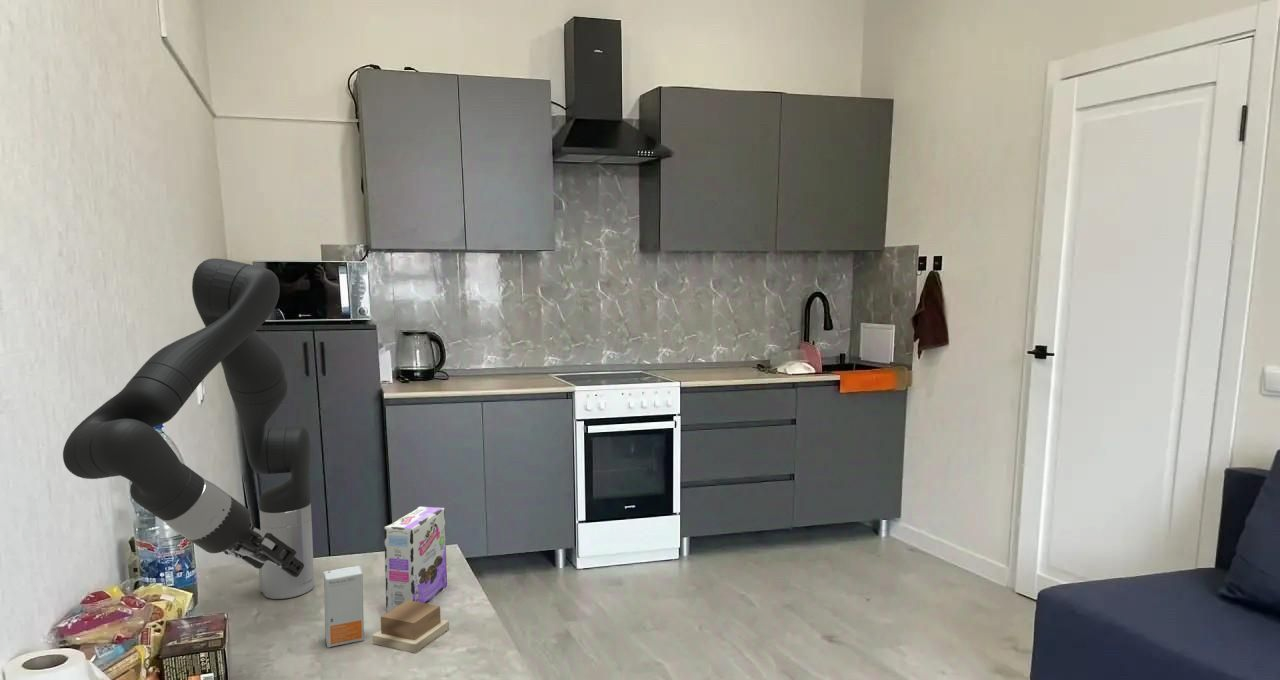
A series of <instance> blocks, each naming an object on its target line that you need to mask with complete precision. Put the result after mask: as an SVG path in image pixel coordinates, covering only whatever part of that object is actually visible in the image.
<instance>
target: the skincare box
mask: <svg viewBox="0 0 1280 680" xmlns="http://www.w3.org/2000/svg"><path fill="white" fill-rule="evenodd" d="M322 574H323V596H324V597H323V599H324V600H323V602H324V604H323V605H324V628H325V629H324V630H325V631H324V632H325V633H324V634H325V636H324V637H325V641H326V647H327V648H331V647H335V646H337V647H338V646H342V645H346V644H351V643H356V642H363V641H364V640H365V628H364V627H365V621H364V615H365V614H364V579H363V577H364V574H363V571H362V568H361V565H356V566H350V567H342V568H337V569H333V570H326V571H323V573H322Z"/></svg>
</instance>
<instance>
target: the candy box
mask: <svg viewBox="0 0 1280 680" xmlns="http://www.w3.org/2000/svg"><path fill="white" fill-rule="evenodd" d="M445 510H446V508H445V507H438V506H437V507H435V506H418V507H417V508H416V509H414V510H412V511H410V512H409V513H407V514H406V515H404V516H402V517H400V518H399V519H397V520H396V521H393V522H392V523H390V524H388V525H386V526H384V529H383V530H384V531H383V533H384V534H383V535H384V569H385V570H384V572H385V606H386V607H385V608H386V609H385V610H386V611H385V612H386V613H387V612H389V611H390V610H392V609H394V608H395V607H397V606H399V605H400V604H402V603H404V602H405V601H407V600H411V601H416V602H421V603H427V604H428V603H429V601H431V600H432V599H433V598H434V597H435V596H437V595H438V594H439V593H440V592H441V591H443V589H445V587H447V586H448V577H447V576H448V573H447V569H448V568H447V543H446V540H447V539H446V514H445V513H446V511H445ZM446 585H447V586H446ZM438 592H439V593H438ZM437 593H438V594H437Z"/></svg>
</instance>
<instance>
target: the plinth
mask: <svg viewBox="0 0 1280 680" xmlns="http://www.w3.org/2000/svg"><path fill="white" fill-rule="evenodd" d="M448 629H449V630H450V622H449V620H447V619H446V620H445V619H441V606H440V605H436V604H432V603H431V604H430V603H428V602H427V603H421V602H416V601H411V600H407V601H405V602H404V603H402V604H400V605H399V606H397V607H395V608H394V609H392V610H390V611H389V612H387V611H386V613H384V614H382V615H381V616H380V630H378V631H377V632H375V633H374V634H372V636H371V637H372V644H373V645H377V646H383V647H386V648H391V649H394V650H395V649H396V650H400V651H404V652H408V653H414V654H416V653H418V652H419V651H421V650H422V649H423V648H425V647H426V646H429V644H431V643H432V642H433V641H435V640H436V639H438V638H439V637H440V636H442V635H443V634H444V633H446V632H447V631H448ZM445 631H446V632H445ZM441 634H442V635H441Z"/></svg>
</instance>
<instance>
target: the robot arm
mask: <svg viewBox="0 0 1280 680" xmlns="http://www.w3.org/2000/svg"><path fill="white" fill-rule="evenodd" d="M191 284H192V285H191V290H192V291H191V292H192V299H193V302H194V305H195V309H196V311H197V313H198V314H199V315H198V316H199V317H200V319H201V321H202V322H203V324H204V327H202V328H201V329H198V330H197V331H195V332H193V333H190V334H189V335H186V336H184V337H181V338H180V339H177V340H175V341H173V342H171V343H170V344H167V345H166V346H164V347H163V348H162V347H161V349H159V350H158V351H156V353H154V354H153V355H152V356H150V357H149V359H148V360H147V361H145V363H144V364H142V366H141V368H139V369H138V371H137V372H136V373H135V374H134V375H133V376H132V377H131V379H130V380H129V381H128V382H127V384H126V385H125V386H124V387H123V388H122V389H121V390H120V391H119V392H118V393H117V394H115V395H114V396H113V397H111V398H109V400H107V401H106V402H105V403H103V404H101V406H99V407H98V408H97V409H95V410H94V411H93V412H92V413H91V414H89V415H87V417H86V418H85V419H84V420H82V421H81V422H80V423H79V424H78V425H77V426H76V427H75V428H74V430H73V431H72V432H71V433H70V435H69V436H68V438H67V440H66V441H65V444H64V445H63V450H62V459H63V463H64V464H63V465H64V466H65V468H66V469H67V470H68V472H70V474H72V475H74V476H76V477H77V478H82V479H87V480H99V479H106V478H110V477H111V478H112V477H122V478H125V479H126V480H129V482H131V483H130V489H129V490H130V491H129V492H130V496H131V498H132V500H133V501H135V503H137V504H138V505H139V506H140V507H142V508H143V509H145V510H146V511H147V512H149V513H150V514H152V515H153V516H155V517H156V518H158V519H160V520H161V521H162V522H164V523H165V524H166V525H167V526H168V527H169V528H171V529H172V530H173V531H174V532H176V533H177V534H179V535H180V536H182V537H184V538H185V539H187V540H188V541H190V542H191V543H193V544H195V546H197V547H199V548H201V550H203V551H205V552H207V553H209V554H220V553H222V552H223V553H224V554H225V555H228V556H230V555H231V556H233V557H234V558H236V559H241V560H243V561H244V562H246V563H247V564H249V565H251V566H252V567H253V568H255V569H258V580H259V581H258V582H259V592H260V593H262V594H263V596H264V597H265V598H268V599H271V600H273V599H274V600H280V599H281V600H283V599H291V598H294V597H298V596H299V597H300V596H301V595H304V594H307V593H308V592H310V591H311V590H313V588H314V587H315V576H314V575H315V573H314V572H315V571H314V566H315V565H314V548H313V547H314V546H313V545H314V544H313V525H312V524H313V523H312V519H313V518H312V499H311V473H310V472H311V471H310V470H311V437H310V432H309V430H308V428H307V427H306V426H304V425H282V426H281V425H279V426H267V425H266V424H267V422H268V421H269V419H270V418H271V417H272V416H273V415H274V414H275V412H276V411H277V410H278V409H279V408H280V406H281V405H282V404H283V402H284V400H285V398H286V396H287V393H288V381H287V377H286V373H285V368H284V367H285V366H284V365H283V364H284V363H283V362H282V359H281V357H280V355H279V354H278V352H277V351H276V350H275V349H274V348H273V347H272V346H271V344H269V342H267V340H265V339H264V338H263V337H262V336H261V335H260V334H259V333H258V332H257V330H258V329H259V328H260V327H261V326H262V325H263V324H264V323H265V322H266V321H267V320H268V318H269V317H270V316H271V314H272V313H273V311H275V308H276V306H277V304H278V302H279V301H278V300H279V298H280V287H281V286H280V282H279V278H278V276H277V275H276V273H275V272H273V271H272V270H271V269H268V268H266V267H263V266H260V265H259V266H258V265H255V264H250V263H245V262H240V261H236V260H231V259H226V258H224V259H223V258H215V257H214V258H213V257H212V258H208V259H205V260H203V261H202V262H201V263H200V264H198V265H197V267H196V268H195V271H194V272H193V277H192V283H191ZM219 364H221V368H222V369H223V374H224V378H225V382H226V384H227V387H228V390H229V395H230V397H231V399H232V402H233V403H234V406H235V407H234V408H235V410H236V412H237V415H238V418H239V422H240V425H241V429H242V434H243V439H244V445H245V450H246V455H247V458H248V459H247V460H248V463H249V466H250V467H251V469H252V470H253V471H254V472H255V473H256V474H259V475H273V474H285V473H286V474H289V473H290V474H291V476H290V479H288V480H287V481H286V482H284V483H282V484H280V485H278V486H275V487H272V488H269V489H268V490H266V491H264V492H263V493H261V495H260V496H259V500H258V503H259V505H258V507H259V508H258V509H259V522H260V523H259V524H260V525H259V527H260V528H256V527H254V526H250V524H251V513H250V510H249V509H248V508H247V507H246V506H245V505H243V504H242V503H241V502H239V501H238V500H236V499H235V498H234V497H233V496H231V495H230V494H228V493H227V492H226V491H224V489H222V488H221V487H219V486H217V485H216V484H215V483H213V482H211V481H209V480H207V479H205V478H204V477H202V476H201V475H199V474H198V473H197V472H196V471H194V470H193V469H192V468H190V467H189V466H188V465H186V464H185V463H183V462H181V460H180V458H179V457H178V455H177V454H176V452H175V451H174V449H172V447H171V446H170V445H169V443H168V442H167V441H166V439H165V438H164V437H163V436H162V434H161V433H160V432H159V431H158V430H156V429H155V428H156V427H158V426H160V425H164V424H166V423H168V422H169V421H171V420H172V419H173V418H174V417H175V416H176V414H178V412H179V411H180V410H181V408H182V407H183V406H184V405H185V404H186V402H187V401H188V399H189V398H190V397H191V396H192V394H194V392H195V391H196V389H197V388H198V386H199V385H200V384H201V383H202V382H203V381H204V379H205V378H206V377H207V376H208V375H209V374H210V372H212V371H213V369H215V367H216V366H218V365H219Z"/></svg>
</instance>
